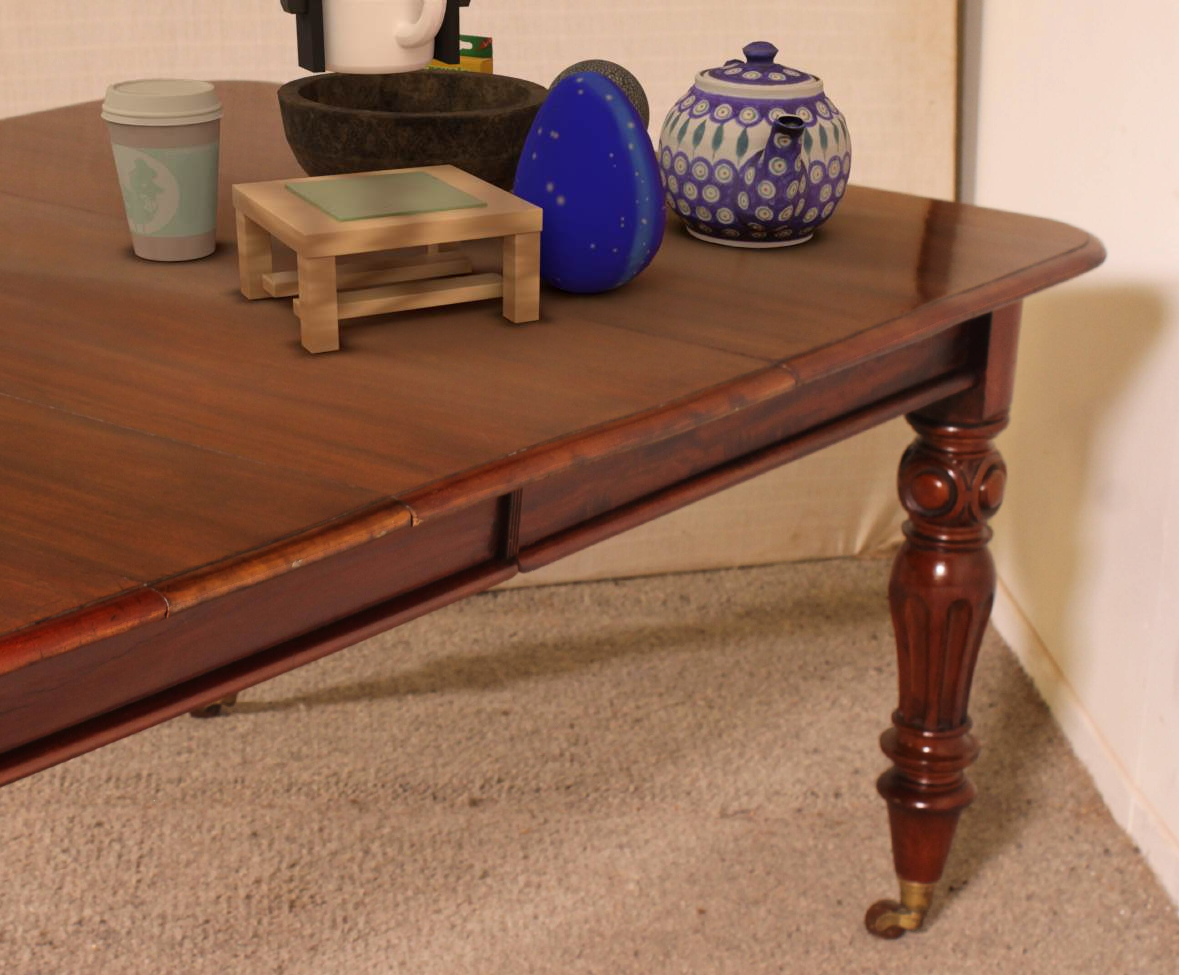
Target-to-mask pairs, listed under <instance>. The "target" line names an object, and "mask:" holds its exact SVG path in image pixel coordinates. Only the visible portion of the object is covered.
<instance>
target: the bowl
mask: <svg viewBox="0 0 1179 975" xmlns="http://www.w3.org/2000/svg"><path fill="white" fill-rule="evenodd" d="M276 94H277V99H278V104H279V110H280V115H281V121H282V126H283V130H284V135H285V136H284V137H285V139H286V142H287V144H288V145H289V147H290V149H291V151H292V154H293V155H294V158H295V160H296V161H297V163H298V164H299V166H300V168H302V170H303V171H304V172H305V174H306V175H307V176H308V177H319V176H330V175H341V174H352V173H363V172H374V171H385V170H396V169H407V168H418V167H429V166H440V165H452V166H454V167H456V168H458V169H460V170H462V171H465V172H467V173H469V174H471V175H473V176H475V177H477V178H479V179H481V180H483V181H485V182H488V183H490V184H492V185H494V186H496V187H498V188H500V189H502V190H504V191H506V192H508V193H511V192H512V191H513V189H514V180H515V176H516V171H517V167H518V163H519V160H520V157H521V154H522V150H523V147H524V144H525V141H526V138H527V136H528V134H529V131H530V129H531V127H532V124H533V122H534V120H535V117H536V115H537V113H538V111H539V109H540V108H541V106H542V104H543V103H544V101H545V100H546V98H547V97H548V95H549V94H550V91H549V90H548V88H546V87H545V86H543V85H541V84H539V83H537V82H535V81H530V80H527V79H523V78H520V77H515V76H514V77H513V76H508V75H503V74H496V73H495V74H494V73H493V74H489V73H481V72H470V71H459V70H441V69H419V70H415V71H409V72H402V73H389V74H351V73H338V72H325V73H318V74H315V75H309V76H304V77H301V78H297V79H294V80H290V81H288V82H287V83H284V84H282V85H281V86H280V88H279V89H277V92H276Z"/></svg>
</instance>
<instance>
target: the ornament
mask: <svg viewBox="0 0 1179 975" xmlns="http://www.w3.org/2000/svg"><path fill="white" fill-rule="evenodd" d="M657 159H658V157H657V154H656V151H655V148H654V144H653V140H652V138H651V136H650V134H649V132H648V130H647V129H646V127H645V125H644V122H643V120H642V119H641V117H640V115H639V113H638V111H637V110H636V108H635V107H634V105H633V104H632V103H631V101H630V100H629V98H628V97H627V96H626V94H625V93H624V92H623V90H622V89H621V88H620V87H619V86H618V85H617V84H616V83H615V82H614V81H613V80H611V79H610V78H608V77H606V76H604V75H602V74H600V73H598V72H595V71H585V72H579V73H574V74H571V75H569V76H568V77H566V78H564V79H562V80H561V81H560V82H559V83H558V84H557V85H556V86H555V87H554V88H553V89H552V91H551V92H550V94H549V95H548V97H547V98H546V100H545V101H544V103H543V104H542V106H541V108H540V109H539V111H538V113H537V115H536V117H535V120H534V122H533V124H532V127H531V129H530V131H529V134H528V136H527V138H526V141H525V144H524V147H523V150H522V154H521V157H520V160H519V163H518V167H517V171H516V176H515V180H514V189H512V194H513V195H515V196H517V197H519V198H521V199H523V200H525V201H527V202H529V203H532V204H534V205H536V206H538V207H540V208H542V209H543V217H542V231H540V279H541V280H542V281H544V282H546V283H548V284H549V285H551V286H552V287H554V288H556V289H559V290H562V291H565V292H570V293H574V294H594V293H595V294H596V293H601V292H606V291H610V290H613V289H616V288H617V289H618V288H619V287H622V286H624V285H626V284H628V283H629V282H631V281H632V280H634V279H635V278H637V277H638V276H640V274H642V272H644V271H645V270H646V269H647V268H648V267H649V266H650V264H651V263H652V261H653V260H654V258H655V256H657V254H658V253H659V250H660V248H661V245H662V243H663V240H664V235H665V230H666V226H667V203H666V200H665V193H664V187H663V182H662V177H661V172H660V169H659V165H658V162H657Z"/></svg>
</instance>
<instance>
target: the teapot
mask: <svg viewBox="0 0 1179 975" xmlns="http://www.w3.org/2000/svg"><path fill="white" fill-rule="evenodd" d="M741 49H742V50H741V51H742V54H743V55H744V57H745V59H746V62H745V61H743V60H741V59H738V58H733V59H729V60H726V61H725V62H724V64H723V65H722V66H718V67H712V68H711V67H710V68H706V69H705V68H704V69H702V70H698V71H697V72H696V73H695V74H694V83H693V84H692V86H690V87H689V89H688V90H687V92H686V93H684V94H683V95H682V96H681V97H679V99H678V100H677V101H676V102H675V103H674V104H673V105H672V106H671V108H670V110H669V111H668V113H667V115H666V116H665V119H664V120H663V123H662V126H661V129H660V134H659V137H658V139H659V140H658V146H657V162H658V165H659V169H660V172H661V177H662V182H663V187H664V193H665V201H666V205H668V207H669V208H670V209H671V210H672V211H673V213H674V214H675V215H676V216H677V217H678V218H679V219H680V221H681V222H683V224H684V226H685V227H686V230H687V231H688V233H689V234H690V235H692V236H693V237H695V238H697V239H700V240H702V241H705V242H708V243H713V244H714V243H715V244H720V245H723V246H729V247H737V248H753V249H761V248H763V249H764V248H765V249H769V248H779V247H780V248H781V247H788V246H793V245H797V244H802V243H804V242H806V241H809V240H810V239H812V238H813V236H814V233H815V232H816V231H817V230H818V228H820V227H821V226H822V225H823V224H825V222H827V221H828V220H829V219H830V218H831V217H832V216H833V215H834V214H835V213H836V211H837V209H838V208H839V206H840V204H841V202H842V200H843V197H844V195H845V192H846V189H847V186H848V182H849V179H850V174H851V168H852V155H853V154H852V152H853V151H852V150H853V149H852V140H851V134H850V132H849V128H848V125H847V120H846V117H845V115H844V114H843V113H842V111H840V110H839V109H838V108H837V106H836V105H835V104H834V102H832V100H831V99H830V98H829V97H828V96H827V95H826V93H825V91H824V81H823V79H822V78H821V77H820V76H818V75H816V74H813V73H809V72H805V71H802V70H799V69H796V68H793V67H790V66H786V65H783V64H780V63H775V62H774V61H775V58H776V56H777V55H778V52H779V51H780V50H779V49H778V47H776V46H775V45H774V44H773V43H771V42H769V41H764V40H758V41H752V42H750V43H748V44H746V45H745V46H744V47H742V48H741Z"/></svg>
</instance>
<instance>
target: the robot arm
mask: <svg viewBox="0 0 1179 975" xmlns="http://www.w3.org/2000/svg"><path fill="white" fill-rule="evenodd" d="M471 1H472V0H447V2H446V10H445V14H444V19H443V22H442V24H441V27H440V29H439V31H438V33H437V34H436V36H435V37H434V55H433V59H435V60H437V61H440V62H443V63H446V64H449V65H453V64H460V50H461V41H460V34H461V33H460V32H461V29H460V28H461V24H460V19H461V18H460V16H461V15H460V14H461V13H460V8H469V7H470V4H471ZM279 4H280V5H281V8H282V10H283V12H284V13H286V14H290V15H295V25H296V26H295V29H296V45H297V66H298V67H299V68H301V69H304V70H305V71H308V72H311V73H312V74H323V73H326V71H325V51H324V29H323V8H322V0H279Z"/></svg>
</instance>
